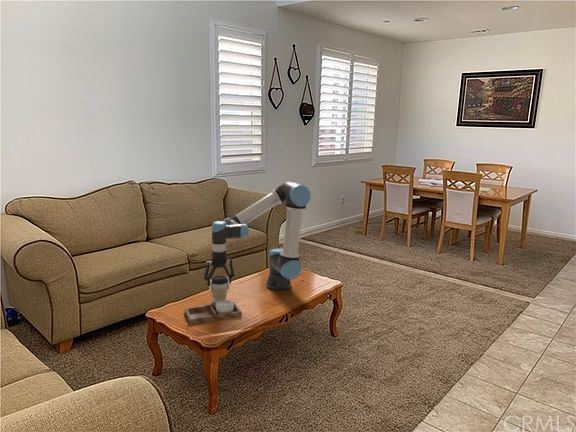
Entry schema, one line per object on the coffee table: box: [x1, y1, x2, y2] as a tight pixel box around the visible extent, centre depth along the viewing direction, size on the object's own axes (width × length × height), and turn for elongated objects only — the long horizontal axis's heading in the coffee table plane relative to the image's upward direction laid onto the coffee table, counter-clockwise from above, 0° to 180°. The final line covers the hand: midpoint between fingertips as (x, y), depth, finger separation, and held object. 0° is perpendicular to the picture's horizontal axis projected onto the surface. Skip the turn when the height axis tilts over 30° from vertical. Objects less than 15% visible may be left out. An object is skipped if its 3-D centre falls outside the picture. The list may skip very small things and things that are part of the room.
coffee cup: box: [211, 275, 228, 304], centre depth 239 cm, size 9×9×15 cm
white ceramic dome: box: [216, 299, 234, 314], centre depth 226 cm, size 9×9×5 cm
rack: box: [184, 301, 243, 325], centre depth 224 cm, size 26×14×4 cm, turn 112°
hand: (219, 290), depth 239 cm, fingers closed on coffee cup, 9 cm apart
